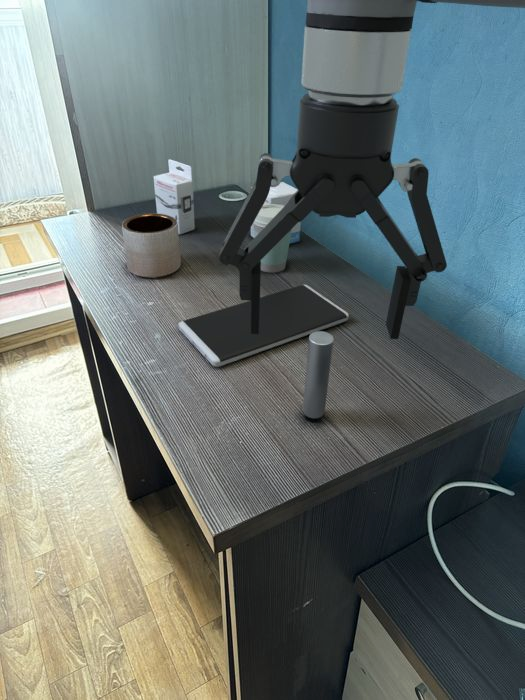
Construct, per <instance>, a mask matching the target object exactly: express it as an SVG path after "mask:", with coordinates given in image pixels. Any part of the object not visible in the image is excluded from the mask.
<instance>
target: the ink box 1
mask: <svg viewBox="0 0 525 700" xmlns="http://www.w3.org/2000/svg"><path fill="white" fill-rule="evenodd" d="M167 162H168V164H167V165H168V171H169V172H165V173H160V174H156V175H153V184H154V185H153V186H154V195H155V207H156V213H157V214H165V215H169V216H171V217H173V218H175V219H176V220H177V223H178V235H183V234H185V233H188V232H191V231H194V230H195V229H196V228H195V227H196V226H195V225H196V224H195V206H194V205H195V204H194V203H195V202H194V182H193V170H192V166H191V165H187V164H185V163H182V162H180V161H176V160H173V159H171V158H169V159H168V160H167ZM179 167H180V169H182V170H180V169H178V168H179Z"/></svg>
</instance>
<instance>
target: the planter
mask: <svg viewBox="0 0 525 700" xmlns="http://www.w3.org/2000/svg"><path fill="white" fill-rule="evenodd" d="M121 230H122V236H123V237H122V238H123V246H124V254H125V261H126V268H127V271H129V273H131V274H132V275H135V276H137V277H140V278H144V279H158V278H159V279H160V278H164V277H167V276H170V275H172V274H174V273H175V272H177V271H178V270H179V269H180V268H181V265H182V258H181V248H180V239H179V238H180V236H179V235H180V234H178V223H177V220H176V219H175V218H173V217H171V216H169V215H165V214H157V212H155V213H154V212H149V213H141V214H135V215H133V216H130V217H128V218H126V219H124V220H123V221H122V223H121Z"/></svg>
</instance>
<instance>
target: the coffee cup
mask: <svg viewBox="0 0 525 700" xmlns="http://www.w3.org/2000/svg"><path fill="white" fill-rule="evenodd" d="M283 207H284V206H283V205H277V204H267V205H263V206H262V208H261V210H260V211H259V213H258V215H257V217H256V219H255V221H254V222H253V227H254V237H256V236H257V235H258V234H259V233H260V232H261V231H262V229H263V228H264V227H265V226H266V225H267V224H268V223H269V222H270V221H271V220H272V219H273V218H274V217H275V216H276V215H277V214H278V213H279V212H280V210H281V209H282V208H283ZM291 231H292V229H291V230H290V231H289V232H288V233H287V234H286V235H285V236H284V237H283V238H282V239H281V240H280V241H279V242H278V243H277V244H276V245H275V246H274V247H273V248H272V249H271V250H270V251H269V252H268V253H267V254H266V255H265V257H264V258H263V259H262V260H261V272H263V273H280V272H282V271H284V270H285V269H286V266H287V259H288V255H289V254H288V253H289V246H290V244H289V243H290V237H291Z"/></svg>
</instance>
